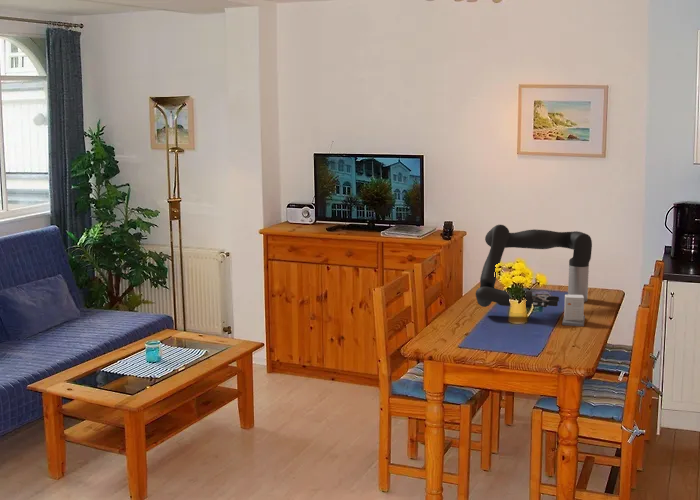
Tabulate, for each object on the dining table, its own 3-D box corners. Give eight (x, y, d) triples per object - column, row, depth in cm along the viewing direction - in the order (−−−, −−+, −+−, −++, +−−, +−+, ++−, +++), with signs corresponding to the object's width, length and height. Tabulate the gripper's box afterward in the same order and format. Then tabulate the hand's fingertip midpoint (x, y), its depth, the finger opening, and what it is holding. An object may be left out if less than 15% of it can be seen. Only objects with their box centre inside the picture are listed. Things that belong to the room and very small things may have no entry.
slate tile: (564, 316, 387) (564, 314, 387) (584, 318, 384) (584, 315, 384) (562, 325, 374) (562, 322, 374) (583, 326, 371) (583, 323, 371)
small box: (582, 317, 381) (583, 294, 379) (583, 321, 375) (584, 297, 373) (563, 317, 382) (564, 294, 380) (564, 320, 377) (565, 297, 375)
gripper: (519, 294, 377) (557, 296, 372) (522, 287, 390) (559, 289, 385) (519, 311, 378) (556, 313, 373) (522, 303, 391) (558, 305, 387)
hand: (558, 301), depth 379 cm, fingers open, 8 cm apart
